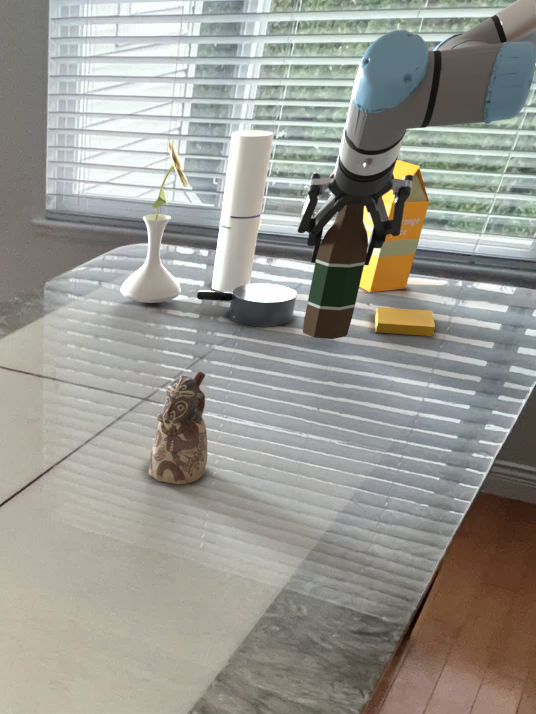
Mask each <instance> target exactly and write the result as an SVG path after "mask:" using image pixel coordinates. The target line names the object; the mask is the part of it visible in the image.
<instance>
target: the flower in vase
mask: <svg viewBox="0 0 536 714" xmlns="http://www.w3.org/2000/svg"><path fill="white" fill-rule="evenodd" d="M167 148H168V152H169V155H170V159H171V164H170V167H169V168H168V171H167V172H166V174H165V177H164V178H163V181H162V183H161V185H160V188H159V192H158V198H157V199H156V200H155V201H154V202H153V203H152V204H151V205H150V207H152V208H154V209H156V212H155V213H150V214H146V215H144V216H142V220H143V221H144V223H145V226H146V229H147V240H148V243H147V255H146V259H145V261H144V263H143V265H142V266H140V267H139V269H137V270H136V271H135V272H133V273H132V274H131V275H130V276H129V277H128V278H126V280H125V281H124V282H123V283H122V285H121V287H120V289H119V291H120V293H121V295H122V296H123V297H124V298H126V299H128V300H130V301H133V302H137V303H144V304H158V303H164V302H168V301H171V300H173V299H175V298H177V297H178V296H179V295H180V294H181V292H182V288H181V284H180V283H179V281H178V280H177V279H176V278H175V277H174V276H173V275H172V274H171V273H170V272H169V271H168V270H167V269H166V267H164V265H163V264H162V260H161V246H162V240H163V235H164V232H165V229H166V226H168V225H167V224H168V223H169V222H170V220H171V219H172V216H170V215H168V214H163V213H159V209H160V207H162V206H166V205H167V204H168V199H167V195H166V192H165V190H164V189H163V188H164V185H165V183H166V181H167V179H168V177H169V175H170V174H171V171H174V172H175V173H176V175H177V179H178V180H179V183H181V185H182V187H183V188H188V186H189V184H188V178H187V176H186V174H185V173H184V170H185V169H184V166H183V164H182V163H181V162H180V160H179V159H180V158H179V157H180V156H179V152H178V150H177V149H175V148H176V147H175V144H174V141H173V140H170V139H169V140H168V141H167Z"/></svg>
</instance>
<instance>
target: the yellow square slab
mask: <svg viewBox="0 0 536 714" xmlns="http://www.w3.org/2000/svg"><path fill="white" fill-rule="evenodd" d="M374 315H375V316H374V321H375V333H381V334H394V335H408V336H409V335H410V336H422V337H423V336H425V337H433V336H434V333H435V329H436V324H435V319H434V313H433V310H431V309H416V308H415V309H414V308H398V307H384V306H383V307H382V306H381V307H380V306H377V308H376V311H375V314H374Z"/></svg>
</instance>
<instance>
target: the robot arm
mask: <svg viewBox="0 0 536 714" xmlns="http://www.w3.org/2000/svg"><path fill="white" fill-rule="evenodd" d="M357 69H358V70H357V73H356V76H355V78H354V80H353V84H352V91H351V97H350V101H349V106H348V109H347V116H346V120H345V126H344V128H343V134H342V138H341V143H340V147H339V151H338V156H337V161H336V165H335V169H334V171H333V172H332V173H331V174H330V176H329V177H322V178H321V175H320V173H318V172H317V173H312V174H311V176H310V182H309V187H308V191H307V194H308V195H307V197H306V200H305V202H304V205H303V207H302V210H301V212H300V216H299V219H298V220H299V221H298V226H297V233H299V234H304V233H306V232H307V233H308V238H307V242H306V245H307V247H313V249H312V255H311V259H310V264H315V262H316V258H317V254H318V250H319V246H320V244H321V242H322V239H323V232H324V228H325V226H327V224H328V223H329V222H330V221H331V220H332V219H333V217H335V215H336V214H338V212H340V211H341V210H342V209H343V208H344V206H345V205H360V206H366V209H367V212H368V213H370V216H371V219H372V222H373V225H374V226H373V229H372V233H371V236H370V239H369V242H368V249H367V255H366V260H365V264H364V265H369V262H370V259H371V256H372V253H373V250H374V248H381V247H382V245H383V243H384V242H385V239H386V236H387V235H389V234H391V235H392V236H398V235H400V231H401V226H402V220H403V214H404V206H405V201H406V200H407V198H408V197H409V196H410V192H411V187H412V182H413V176H412V175H406V176H405V177H404V178H403V180H401V179H395V178H394V175H393V171H394V167H395V164H396V161H397V160H398V157H399V154H400V152H401V147H402V145H403V141H404V138H405V134H406V132H407V130H411V129H412V130H413V129H425V128H429V127H441V126H455V125H467V124H468V125H469V124H481V123H482V124H483V123H484V124H485V125H488V124H491V123H492V122H498V121H504V120H511V119H514V118H515V117H517V116H518V115H519V114H520V113H521V111H522V110H523V108H524V107H525V104H526V102H527V100H528V97H529V94H530V91H531V88H532V85H533V80H534V76H535V71H536V0H516V1H514V2H512V3H511V4H509V5H507V6H506V7H504V8H502V9H501V10H499V11H498V12H496V13H495V14H493V15H492V16H491V17H489V18H486V19H485V20H483V21H482V22H480V23H478V24H477V25H474V26H473V27H471V28H470V29H468V30H467V31H465V32H460V33H457V34H453V35H451V36H449V37H447V38H446V39H444V40H442V41H441V42H439V44H437V45H436V46H435V47H434V49H432V50H429V48H428V45H427V42H426V41H425V40H424V38H423V37H422V36H421V35H420V34H418V33H415V34H414V33H412V32H409V31H408V30H406V29H400V30H399V29H398V30H392V31H389V32H387V33H385V34H383V35H381V36H379V37H378V38H376V39H375V40H374V41H373V42H371V44H370V45H369V46H368V48H367V49H366V50H365V52H364V53H363V56H362V58H361V60H360V63H359V66H358V68H357ZM326 190H329V191H330V192H331V195H330V196H329V198H327V200H326V201H325V202H324V203H323V205H322V206H321V207H320V208H319V209H318V211H316V213H314V212H315V210H316V207H317V205H318V202H319V199H320V198H321V197H322V196H323V194H324V193H325V191H326ZM390 190H393V195H394V199H396V201H395V207H394V215H393V220H389V218H388V215H387V212H386V208H385V205H384V202H383V198H382V196H383V195H384V194H386V193H387V192H389V191H390Z"/></svg>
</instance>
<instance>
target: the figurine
mask: <svg viewBox="0 0 536 714" xmlns="http://www.w3.org/2000/svg"><path fill="white" fill-rule="evenodd" d="M205 377H206V374H205V373H204V372H202V371H201V370H200V371H197V373H195V375H194V376H193V377H191V376H189V375H180V376H178V377H176V378H175V379H174V380H173V382H171V383H170V384H169V385H168V386H167V387H166V388H165V393H166V395H165V400H164V405H163V409H162V412H161V413H159V414H157V416H156V420H157V421H158V422H159V423H158V426H157V429H156V432H155V436H154V437H155V438H154V441H153V445H152V448H151V451H150V456H149V469H148V474H149V476H150V477H152V478H154V479H155V480H156V481H158V482H164V483H167V484H173V485H186V484H190V483H194V482H196V481H198V480H199V479H200V478H201V477H203V475H204V474H205V471H206V467H207V466H206V465H207V462H208V433H207V425H206V422H205V419H204V418H203V413H204V410H205V408H206V407H205V406H206V395H205V393H204V392H203V391H202V389H201V384H202V382H203V380H204V379H205Z"/></svg>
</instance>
